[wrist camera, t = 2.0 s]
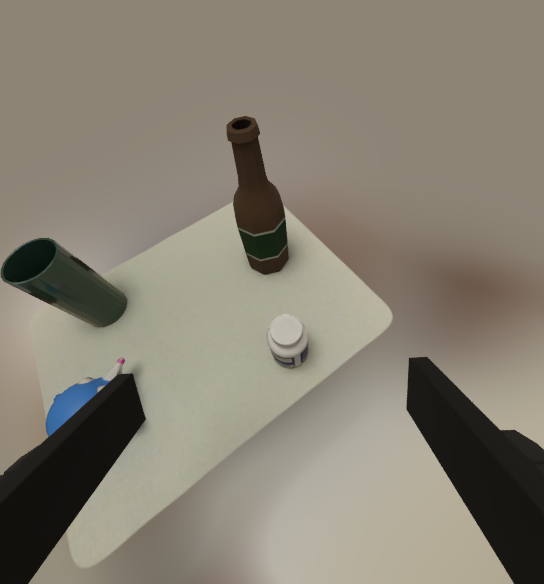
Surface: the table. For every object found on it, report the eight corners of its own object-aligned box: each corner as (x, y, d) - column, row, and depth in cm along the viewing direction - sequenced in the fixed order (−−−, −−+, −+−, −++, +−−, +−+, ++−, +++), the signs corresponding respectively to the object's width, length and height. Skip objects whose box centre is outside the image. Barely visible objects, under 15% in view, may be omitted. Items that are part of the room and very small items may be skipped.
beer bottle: (274, 235, 50) (253, 95, 29) (297, 261, 47) (292, 122, 26) (240, 255, 49) (193, 123, 28) (262, 283, 45) (226, 155, 24)
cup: (91, 334, 44) (0, 294, 31) (84, 302, 47) (0, 254, 34) (131, 313, 45) (61, 265, 32) (121, 283, 48) (54, 229, 35)
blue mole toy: (171, 376, 39) (140, 364, 31) (127, 464, 34) (78, 474, 26) (110, 353, 42) (69, 337, 34) (61, 430, 37) (1, 430, 30)
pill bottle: (296, 328, 40) (294, 300, 32) (314, 357, 38) (317, 336, 29) (266, 344, 40) (256, 320, 31) (282, 375, 37) (276, 359, 29)
